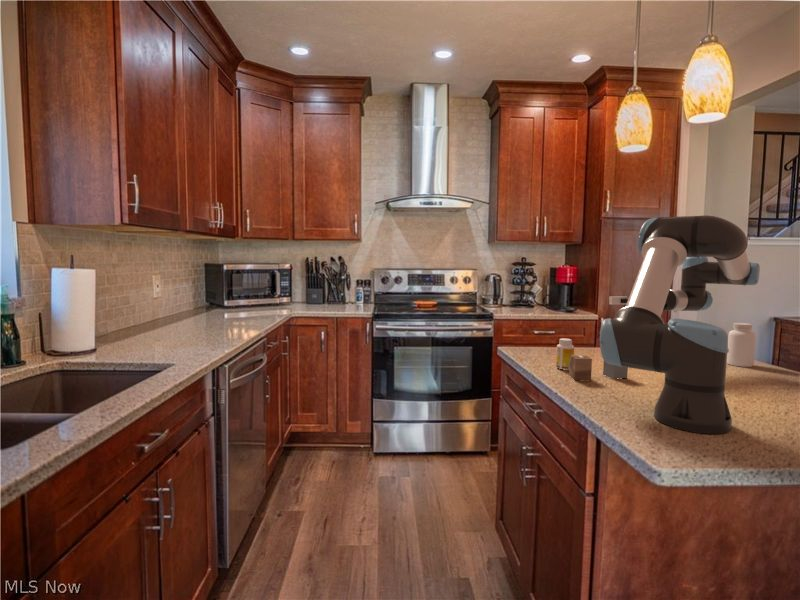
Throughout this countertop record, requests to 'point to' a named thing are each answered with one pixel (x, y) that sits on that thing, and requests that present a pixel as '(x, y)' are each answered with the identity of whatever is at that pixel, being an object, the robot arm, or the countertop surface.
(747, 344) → the pill bottle
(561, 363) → the supplement bottle
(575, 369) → the walnut block
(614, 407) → the countertop surface
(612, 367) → the slate block
